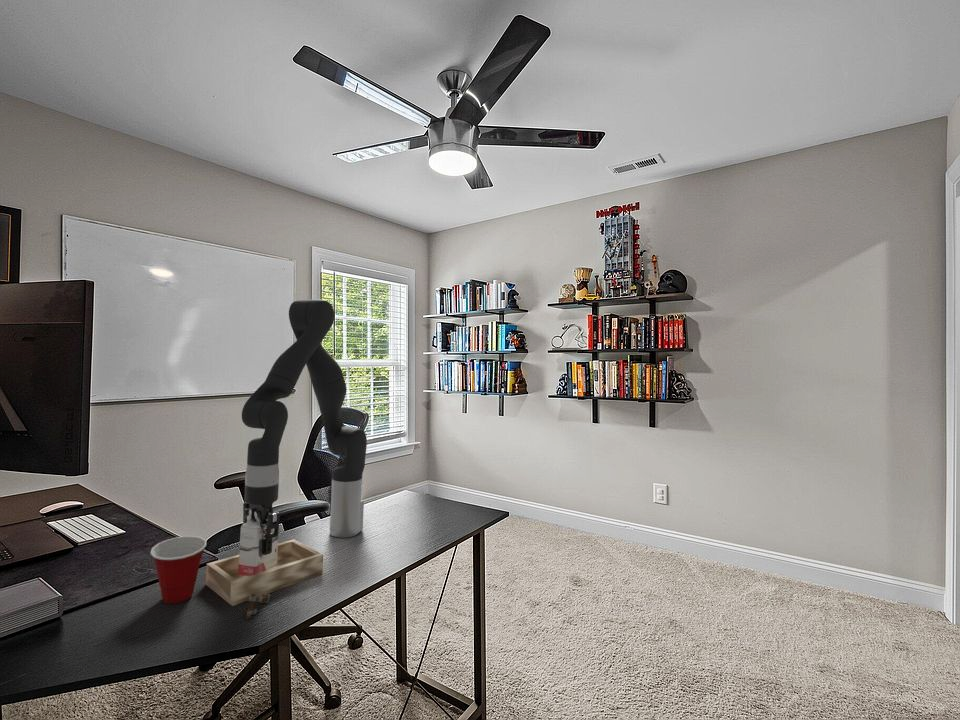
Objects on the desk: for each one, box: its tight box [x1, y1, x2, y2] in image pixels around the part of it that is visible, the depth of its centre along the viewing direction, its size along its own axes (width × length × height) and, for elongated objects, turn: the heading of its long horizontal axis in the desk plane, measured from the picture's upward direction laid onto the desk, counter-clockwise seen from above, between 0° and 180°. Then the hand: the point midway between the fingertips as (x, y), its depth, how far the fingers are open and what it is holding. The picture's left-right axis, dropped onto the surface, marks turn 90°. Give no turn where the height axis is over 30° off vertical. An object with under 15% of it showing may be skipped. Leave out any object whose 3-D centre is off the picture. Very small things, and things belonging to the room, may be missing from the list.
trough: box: [205, 538, 324, 607], centre depth 120 cm, size 22×14×5 cm, turn 140°
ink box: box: [238, 520, 279, 576], centre depth 119 cm, size 9×5×12 cm, turn 167°
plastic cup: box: [150, 535, 207, 604], centre depth 110 cm, size 11×11×12 cm
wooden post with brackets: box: [246, 593, 271, 619], centre depth 106 cm, size 2×8×4 cm, turn 178°
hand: (259, 549), depth 119 cm, fingers closed on ink box, 6 cm apart
